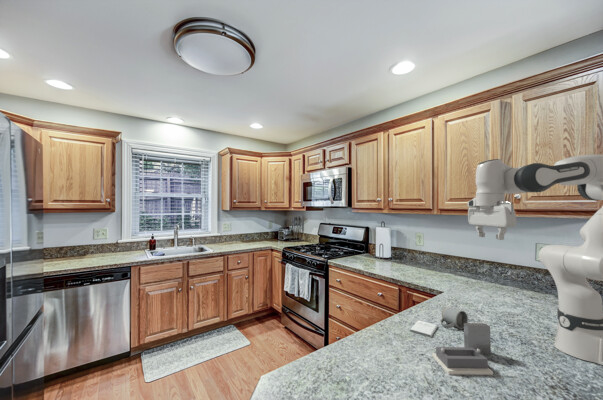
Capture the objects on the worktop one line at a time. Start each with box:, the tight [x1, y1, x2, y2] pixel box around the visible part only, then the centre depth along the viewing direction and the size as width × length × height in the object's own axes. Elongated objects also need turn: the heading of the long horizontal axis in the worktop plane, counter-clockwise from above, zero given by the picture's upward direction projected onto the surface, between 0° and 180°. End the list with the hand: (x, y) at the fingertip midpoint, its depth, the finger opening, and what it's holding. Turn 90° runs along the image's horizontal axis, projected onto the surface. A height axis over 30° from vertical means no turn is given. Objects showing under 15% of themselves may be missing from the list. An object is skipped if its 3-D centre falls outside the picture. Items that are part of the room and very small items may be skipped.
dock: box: [432, 346, 494, 376], centre depth 85 cm, size 14×10×5 cm
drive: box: [463, 322, 492, 355], centre depth 93 cm, size 8×2×10 cm, turn 89°
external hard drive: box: [409, 320, 438, 338], centre depth 111 cm, size 2×8×12 cm
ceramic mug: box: [440, 306, 469, 330], centre depth 115 cm, size 11×8×8 cm
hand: (490, 238), depth 96 cm, fingers open, 8 cm apart
